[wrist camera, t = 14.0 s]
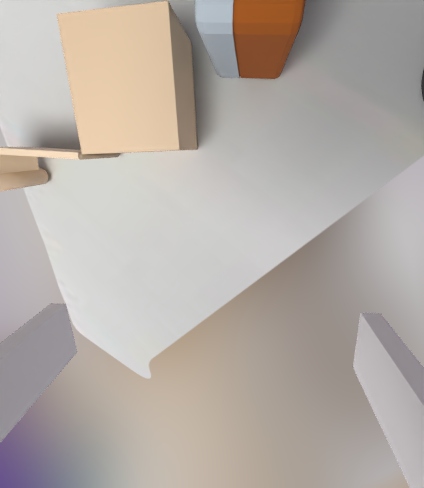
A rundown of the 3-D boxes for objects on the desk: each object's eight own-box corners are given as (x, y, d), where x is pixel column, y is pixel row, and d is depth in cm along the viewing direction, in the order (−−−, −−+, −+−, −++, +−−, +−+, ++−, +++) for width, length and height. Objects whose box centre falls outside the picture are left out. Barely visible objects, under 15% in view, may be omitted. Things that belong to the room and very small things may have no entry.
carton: (191, 43, 39) (167, 0, 28) (197, 149, 43) (179, 149, 32) (110, 51, 41) (56, 13, 29) (123, 152, 45) (81, 154, 34)
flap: (29, 146, 46) (-28, 146, 36) (118, 151, 44) (83, 152, 35) (35, 183, 48) (-18, 192, 38) (120, 189, 46) (87, 200, 37)
